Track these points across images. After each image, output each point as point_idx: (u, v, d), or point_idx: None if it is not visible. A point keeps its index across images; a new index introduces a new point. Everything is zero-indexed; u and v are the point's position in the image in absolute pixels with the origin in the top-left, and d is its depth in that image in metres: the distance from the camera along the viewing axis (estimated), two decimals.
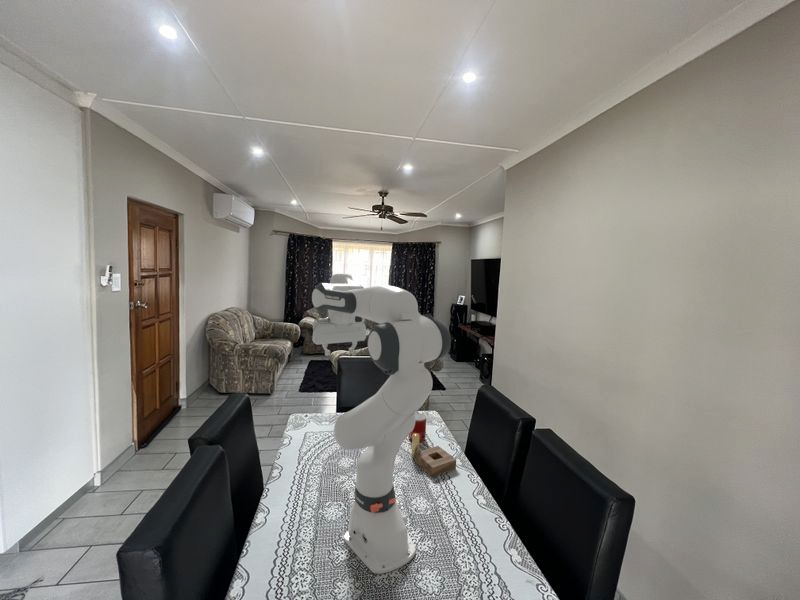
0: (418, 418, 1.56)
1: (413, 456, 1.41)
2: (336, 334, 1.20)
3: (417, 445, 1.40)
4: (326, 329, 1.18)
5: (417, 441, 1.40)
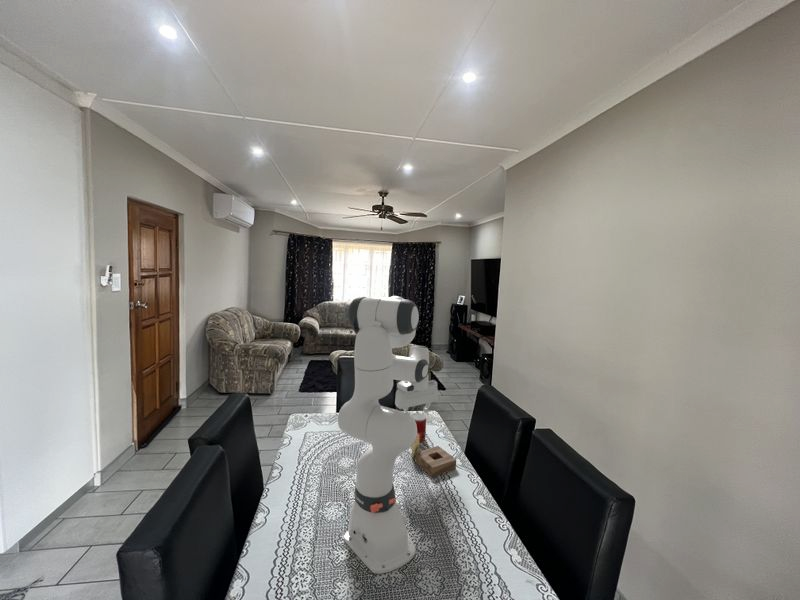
0: (418, 418, 1.56)
1: (413, 456, 1.41)
2: None
3: (417, 445, 1.40)
4: None
5: (417, 441, 1.40)
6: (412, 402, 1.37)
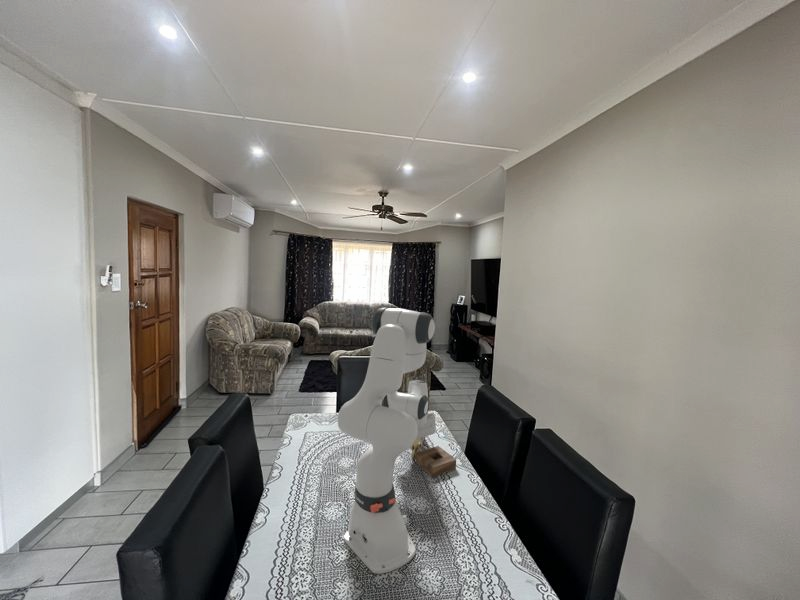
0: None
1: (413, 456, 1.41)
2: None
3: (417, 445, 1.40)
4: None
5: (417, 441, 1.40)
6: None
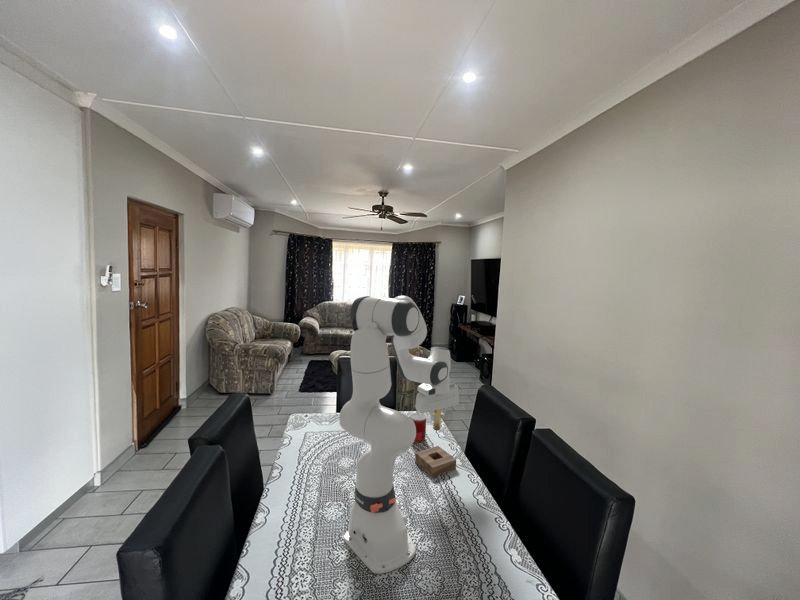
0: (418, 418, 1.56)
1: (435, 427, 1.34)
2: None
3: (439, 416, 1.34)
4: None
5: (439, 411, 1.33)
6: (433, 406, 1.31)
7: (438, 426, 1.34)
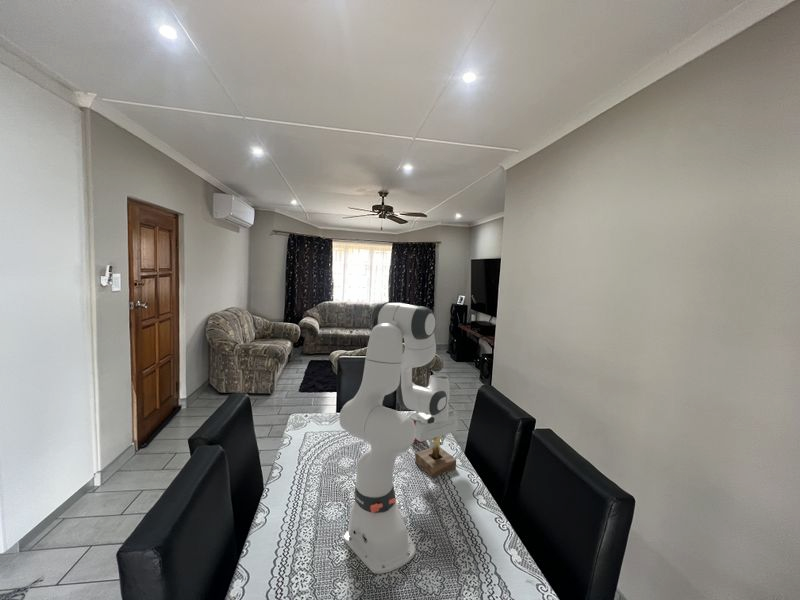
0: None
1: (434, 454, 1.35)
2: None
3: (438, 443, 1.35)
4: None
5: (438, 439, 1.34)
6: (432, 434, 1.32)
7: (437, 453, 1.35)
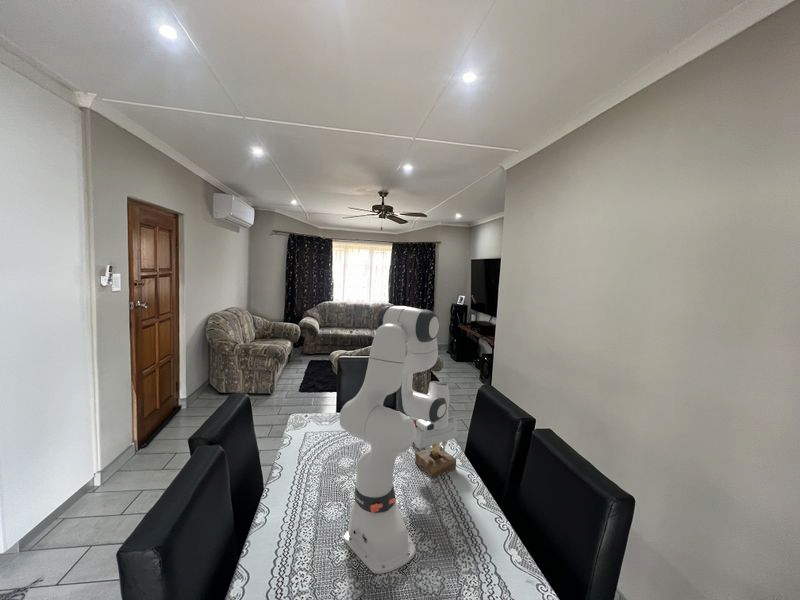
0: None
1: None
2: None
3: (437, 450, 1.35)
4: None
5: (437, 446, 1.34)
6: (432, 441, 1.32)
7: None
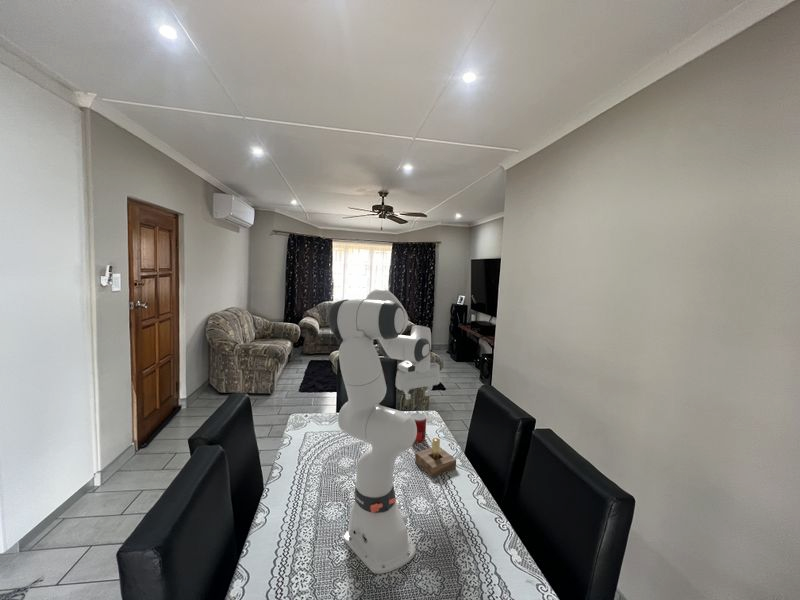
0: (418, 418, 1.56)
1: None
2: None
3: (437, 450, 1.35)
4: None
5: (437, 446, 1.34)
6: (413, 384, 1.32)
7: None
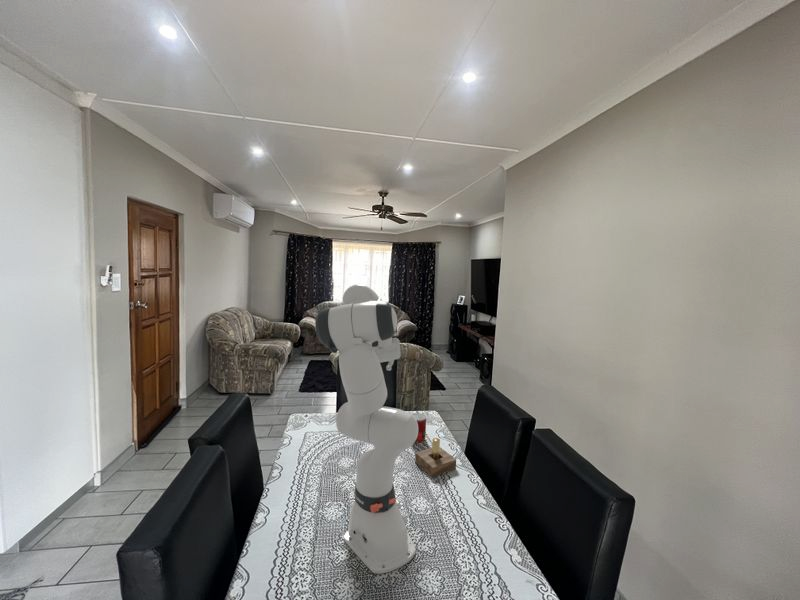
0: (418, 418, 1.56)
1: None
2: None
3: (437, 450, 1.35)
4: None
5: (437, 446, 1.34)
6: None
7: None
